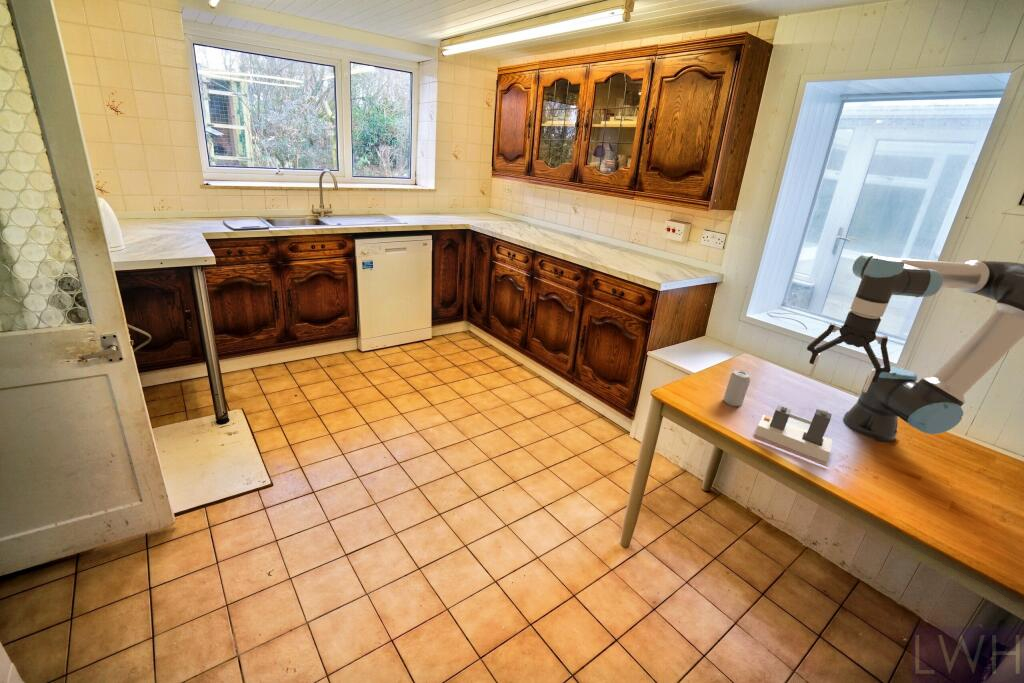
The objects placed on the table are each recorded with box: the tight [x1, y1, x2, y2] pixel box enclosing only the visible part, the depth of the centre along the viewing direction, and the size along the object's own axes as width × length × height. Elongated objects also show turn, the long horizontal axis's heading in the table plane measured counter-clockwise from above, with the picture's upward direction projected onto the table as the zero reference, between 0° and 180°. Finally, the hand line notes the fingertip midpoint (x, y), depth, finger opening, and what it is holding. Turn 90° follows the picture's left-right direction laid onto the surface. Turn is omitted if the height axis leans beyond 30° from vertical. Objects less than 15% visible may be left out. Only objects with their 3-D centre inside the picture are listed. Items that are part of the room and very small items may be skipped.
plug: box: [804, 408, 833, 445], centre depth 145 cm, size 4×4×13 cm
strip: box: [754, 405, 833, 463], centre depth 148 cm, size 20×9×11 cm, turn 53°
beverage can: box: [723, 369, 751, 408], centre depth 169 cm, size 6×6×12 cm
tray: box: [787, 412, 812, 431], centre depth 160 cm, size 12×10×2 cm
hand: (837, 382), depth 138 cm, fingers open, 13 cm apart
